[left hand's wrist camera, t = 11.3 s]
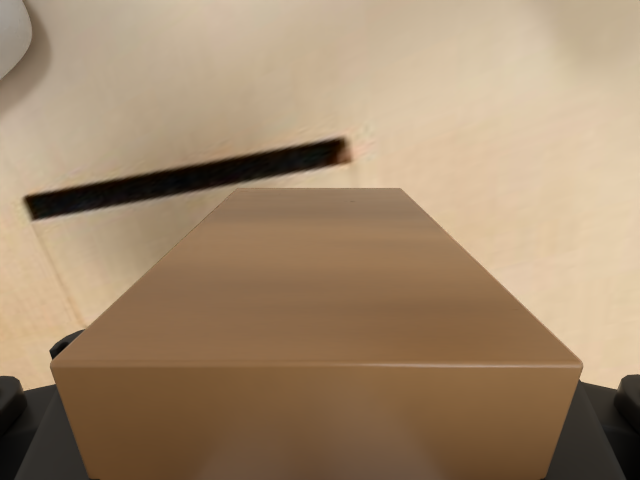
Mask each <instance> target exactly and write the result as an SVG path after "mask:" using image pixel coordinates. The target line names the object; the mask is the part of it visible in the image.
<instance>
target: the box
mask: <svg viewBox="0 0 640 480" xmlns="http://www.w3.org/2000/svg"><path fill="white" fill-rule="evenodd" d="M50 369H51V372H52V374H53V377H54V380H55V383H56V386H57V389H58V392H59V394H60V397H61V400H62V403H63V406H64V409H65V412H66V414H67V417H68V420H69V423H70V426H71V429H72V432H73V434H74V437H75V440H76V443H77V446H78V449H79V452H80V454H81V457H82V460H83V463H84V466H85V469H86V472H87V474H88V477H89V478H90V479H100V480H540V479H543V478H545V477H546V475H547V472H548V469H549V466H550V463H551V460H552V457H553V454H554V451H555V448H556V445H557V442H558V439H559V437H560V434H561V431H562V428H563V425H564V422H565V419H566V416H567V413H568V410H569V407H570V404H571V401H572V398H573V395H574V393H575V390H576V387H577V384H578V381H579V378H580V375H581V372H582V369H583V363H582V361H581V360H580V359H579V358H578V357H577V356H576V355H575V354H574V353H573V352H572V351H571V350H570V349H569V348H567V347H566V346H565V345H564V344H563V343H562V342H561V341H560V340H559V339H558V338H557V337H556V336H555V335H554V334H553V333H552V332H551V331H550V330H549V329H548V328H547V327H545V326H544V325H543V324H542V323H541V322H540V321H539V320H538V319H537V318H536V317H535V316H534V315H533V314H532V313H531V312H530V311H529V310H528V309H527V308H526V307H525V306H523V305H522V304H521V303H520V302H519V301H518V300H517V299H516V298H515V297H514V296H513V295H512V294H511V293H510V292H509V291H508V290H507V289H506V288H505V287H504V286H503V285H501V284H500V283H499V282H498V281H497V280H496V279H495V278H494V277H493V276H492V275H491V274H490V273H489V272H488V271H487V270H486V269H485V268H484V267H483V266H482V265H481V264H480V263H478V262H477V261H476V260H475V259H474V258H473V257H472V256H471V255H470V254H469V253H468V252H467V251H466V250H465V249H464V248H463V247H462V246H461V245H460V244H459V243H458V242H456V241H455V240H454V239H453V238H452V237H451V236H450V235H449V234H448V233H447V232H446V231H445V230H444V229H443V228H442V227H441V226H440V225H439V224H438V223H437V222H436V221H434V220H433V219H432V218H431V217H430V216H429V215H428V214H427V213H426V212H425V211H424V210H423V209H422V208H421V207H420V206H419V205H418V204H417V203H416V202H415V201H414V200H412V199H411V198H410V197H409V196H408V195H407V194H406V193H405V192H404V191H403V190H402V189H401V188H237V189H236V190H235V191H234V192H233V193H232V194H231V195H229V196H228V197H227V198H226V199H225V200H224V201H223V202H222V203H221V204H220V205H219V206H218V207H217V208H215V209H214V210H213V211H212V212H211V213H210V214H209V215H208V216H207V217H206V218H205V219H204V220H203V221H201V222H200V223H199V224H198V225H197V226H196V227H195V228H194V229H193V230H192V231H191V232H190V233H189V234H188V235H186V236H185V237H184V238H183V239H182V240H181V241H180V242H179V243H178V244H177V245H176V246H175V247H174V248H172V249H171V250H170V251H169V252H168V253H167V254H166V255H165V256H164V257H163V258H162V259H161V260H160V261H158V262H157V263H156V264H155V265H154V266H153V267H152V268H151V269H150V270H149V271H148V272H147V273H146V274H144V275H143V276H142V277H141V278H140V279H139V280H138V281H137V282H136V283H135V284H134V285H133V286H132V287H131V288H129V289H128V290H127V291H126V292H125V293H124V294H123V295H122V296H121V297H120V298H119V299H118V300H117V301H115V302H114V303H113V304H112V305H111V306H110V307H109V308H108V309H107V310H106V311H105V312H104V313H103V314H101V315H100V316H99V317H98V318H97V319H96V320H95V321H94V322H93V323H92V324H91V325H90V326H89V327H87V328H86V329H85V330H84V331H83V332H82V333H81V334H80V335H79V336H78V337H77V338H76V339H75V340H73V341H72V342H71V343H70V344H69V345H68V346H67V347H66V348H65V349H64V350H63V351H62V352H61V353H60V354H58V355H57V356H56V357H55V358H54V359H53V360H52V361H51V363H50Z"/></svg>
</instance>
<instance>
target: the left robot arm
mask: <svg viewBox="0 0 640 480" xmlns="http://www.w3.org/2000/svg"><path fill="white" fill-rule="evenodd" d="M84 330H85V329H84ZM84 330H80V331H77V332H75V333H73V334H70V335H68V336H66V337H65V338H63V339H62V340H60V341H59V342H57V343H56V344H55V345H54V346H53V347H52V348H51V349H50V354H51V357H52V360H53V359H54V358H55V357H56V356H57V355H58V354H60V353H61V352H62V351H63V350H64V349H65V348H66V347H67V346H68V345H69V344H70V343H71V342H72V341H73V340H75V339H76V338H77V337H78V336H79V335H80V334H81V333H82V332H83V331H84ZM0 480H100V479H90V478H89V477H88V474H87V472H86V469H85V466H84V463H83V460H82V457H81V454H80V452H79V449H78V446H77V443H76V440H75V437H74V434H73V432H72V429H71V426H70V423H69V420H68V417H67V414H66V412H65V409H64V406H63V403H62V400H61V397H60V394H59V392H58V389H57V386H56V384H54V385H50V386H45V387H40V388H36V389H31V390H27V391H23V388H22V386H21V383H20V381H19V380H18V379H16V378H15V377H12V376H0ZM540 480H640V375H638V374H637V375H627V376H625V377H624V378H622V379H621V382H620V384H619V387H618V389H617V390H616V389H611V388H607V387H602V386H597V385H593V384H588V383H584V382H581V381H580V379H579V381H578V384H577V387H576V390H575V393H574V395H573V398H572V401H571V404H570V407H569V410H568V413H567V416H566V419H565V422H564V425H563V428H562V431H561V434H560V437H559V439H558V442H557V445H556V448H555V451H554V454H553V457H552V460H551V463H550V466H549V469H548V472H547V475H546V477H545V478H543V479H540Z"/></svg>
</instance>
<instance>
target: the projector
mask: <svg viewBox="0 0 640 480" xmlns="http://www.w3.org/2000/svg"><path fill="white" fill-rule="evenodd" d="M31 39H32V25H31V21H30V18H29V15H28V12H27V10H26V7H25V5H24V3H23V1H22V0H0V80H1V79H2V78H3V77H4V76H5V75H6V74H7V73H8V72H9V71H10V70H11V69H12V68H14V67H15V65H16V64H17V63H18V62H19V61H20V60H21V58H22V57H23V56H24V54H25V53H26V51H27V50H28V48H29V45H30V43H31Z"/></svg>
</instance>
